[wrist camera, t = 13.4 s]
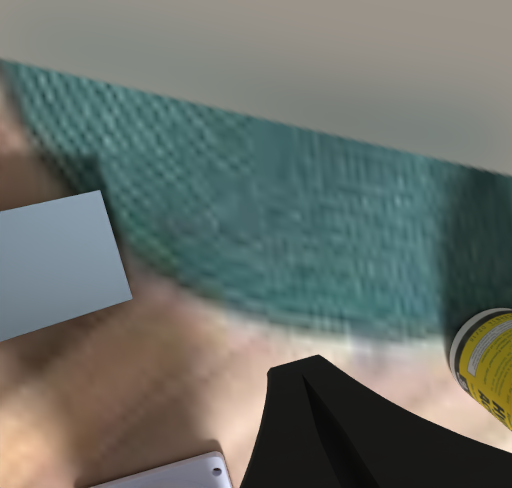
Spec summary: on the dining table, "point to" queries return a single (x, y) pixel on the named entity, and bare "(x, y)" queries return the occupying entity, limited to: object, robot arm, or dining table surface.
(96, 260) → the slate domino
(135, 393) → the dining table surface
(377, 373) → the dining table surface
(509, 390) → the supplement bottle
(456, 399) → the dining table surface
